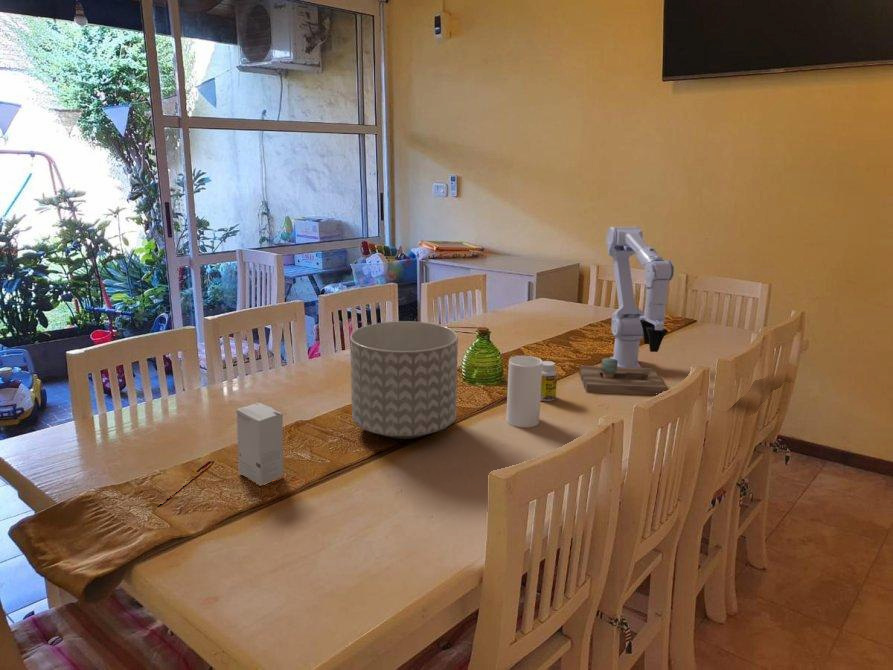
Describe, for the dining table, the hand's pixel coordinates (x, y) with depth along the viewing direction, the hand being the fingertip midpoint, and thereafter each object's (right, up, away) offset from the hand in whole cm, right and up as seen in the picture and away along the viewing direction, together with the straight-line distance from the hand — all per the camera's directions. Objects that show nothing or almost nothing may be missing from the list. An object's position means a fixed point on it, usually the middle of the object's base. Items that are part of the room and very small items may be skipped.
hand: (650, 347), depth 193 cm
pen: (-113, -27, -59) cm, 130 cm away
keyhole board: (-9, -11, 0) cm, 14 cm away
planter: (-70, -19, -33) cm, 80 cm away
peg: (-13, -10, 0) cm, 16 cm away
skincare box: (-98, -26, -56) cm, 116 cm away
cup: (-41, -18, -27) cm, 52 cm away
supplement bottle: (-33, -14, -12) cm, 37 cm away
